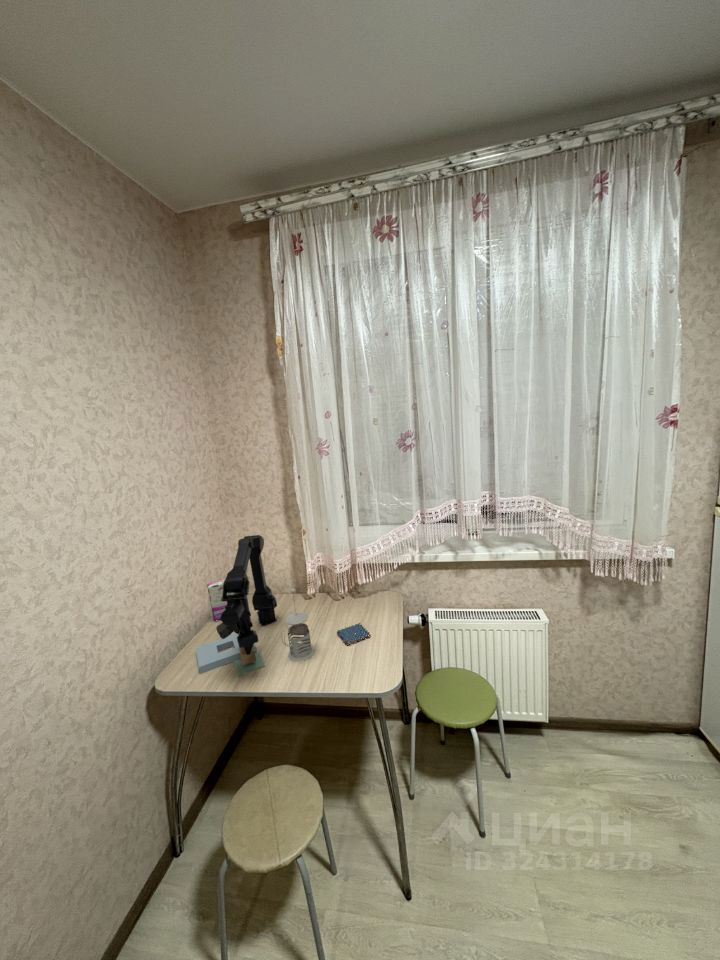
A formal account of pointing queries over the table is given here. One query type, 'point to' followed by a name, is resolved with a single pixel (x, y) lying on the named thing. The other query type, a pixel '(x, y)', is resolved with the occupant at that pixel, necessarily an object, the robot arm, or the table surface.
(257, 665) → the green pad
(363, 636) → the woven mat
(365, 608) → the table surface
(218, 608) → the candy bar box
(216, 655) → the pocket board
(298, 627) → the french press
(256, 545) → the robot arm
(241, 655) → the walnut block
